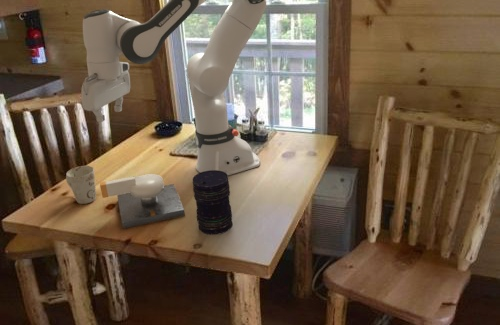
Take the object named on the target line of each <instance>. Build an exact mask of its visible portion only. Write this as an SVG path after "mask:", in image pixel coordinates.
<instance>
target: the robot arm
mask: <svg viewBox="0 0 500 325" xmlns="http://www.w3.org/2000/svg"><path fill="white" fill-rule="evenodd" d="M206 1H207V0H168V1H167V2H166V4H165V5H163V7H161V9H159V10H158V11H157V12H156V13H155V14H154V15H153V16H152V17H151V18H150V19H149V20H147V21H146V22H144V23H140V22H139V21H137V20H134V19H129V18H127V17H126V18H125V17H124V16H121V15H119V14H117V13H114V12H113V11H111V10H110V9H106V8H104V9H103V8H102V9H97V10H96V9H95V10H92V11H90V12H88V13H86V14H85V15H84V16H83V19H82V37H83V45H84V47H85V50H86V65H87V67H86V68H87V73H88V74H87V75H88V76H86V77H85V78H84V81H83V82H82V86H81V89H80V90H81V92H80V94H81V105H82V109H83V110H84V111H88V112H93V114H94V116H95V119H96V122H97V123H103V122H105V121H106V118H105V116H106V115H105V114H103V113H102V110H103V107H104V106H107V105H108V104H110V103H112V102H114V101H115V104H114V106H113V108H114V109H113V110H114V112H115V113H119V112H122V110H123V103H124V102H123V101H124V96H125V95H127V94H130V91H131V76H130V72H129V70H130V64H129V62H131V63H133V64H137V65H145V64H148V63H151V62H152V61H153V60H154V59H156V57H157V55H158V54H160V53H159V52H160V50H161V48H162V46H163V44H164V42H165V41H166V39H168V38H169V37H170V35H171V34H173V33H174V31H175V30H176V29H177V28H178V27H179V26H180V25H181V24H182V23H184V21H185V20H186V19H188V17H189V16H190V15H191V14H192V13H193V12H195V10H197V8H198V7H200V6H201V5H202V4H204V3H205V2H206ZM266 7H267V0H231V2H230V4H229V5H228V7H227V8H226V9H225V11H224V13H222V16H221V17H220V19H219V20H218V22H217V24H216V25H215V27H214V28H213V30H212V32H211V34H210V38H209V41H208V43H207V45H206V48H205V50H204V52H197V53H194V54H193V55H192V56H191V57H189V59H188V61H187V66H186V73H187V74H186V75H187V79H188V87H189V91H190V95H191V96H190V97H191V101H192V105H193V112H194V121H195V122H194V123H195V134H194V135H195V142H196V146H197V159H196V160H197V162H196V166H195V169H196V171H197V172H198V173H201V172H204V171H210V170H218V171H223V172H225V173H226V174H227V175H228V176H231V175H234V174H237V173H241V172H244V171H247V170H251V169H255V168H257V167H259V166H260V164H261V160H260V158H259V156H258V155H257V154H256V153H255V152H254V151H252V147H251V146H250V144H249V143H248V142H247V141H246V140H244V139H242V138H240V137H238V136H239V134H240V133H239V130H237V129H236V128H234V127H233V126H231V125H230V124H229V119H228V118H229V117H228V105H227V103H226V99H225V94H224V92H225V91H226V90H227V88H228V87H229V86H228V85H229V82H230V77H231V76H232V73H233V71H234V69H235V66H236V65H237V62H238V59H239V57H240V55H241V53H242V51H243V49H244V48H245V46H246V45H247V43H248V42H249V40H250V39H251V37H252V35H253V34H254V32H255V31H256V29H257V27H258V25H259V24H260V21H261V19H262V17H263V14H264V13H265V10H266ZM121 55H123V56H124V57H125V58H126V59H127V60H128V61H129V62H125V61H120V56H121Z"/></svg>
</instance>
